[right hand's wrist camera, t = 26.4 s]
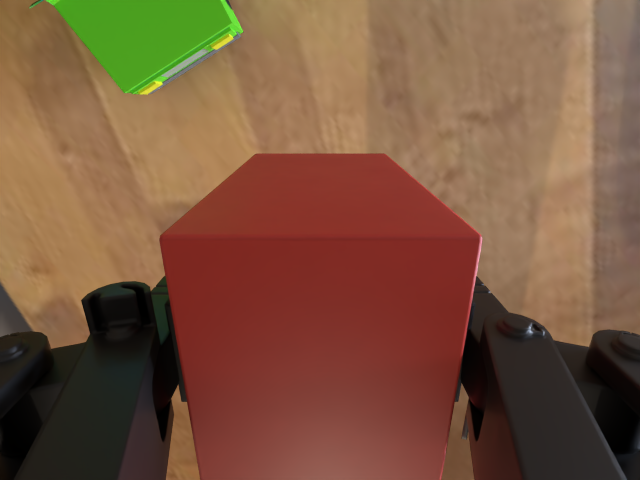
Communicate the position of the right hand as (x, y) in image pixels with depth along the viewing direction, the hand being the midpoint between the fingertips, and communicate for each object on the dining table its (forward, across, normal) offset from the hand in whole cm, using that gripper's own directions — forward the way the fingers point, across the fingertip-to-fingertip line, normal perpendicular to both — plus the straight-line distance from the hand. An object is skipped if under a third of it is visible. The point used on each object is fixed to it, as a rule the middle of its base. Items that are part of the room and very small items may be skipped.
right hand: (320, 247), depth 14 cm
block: (+1, 0, 0) cm, 1 cm away
